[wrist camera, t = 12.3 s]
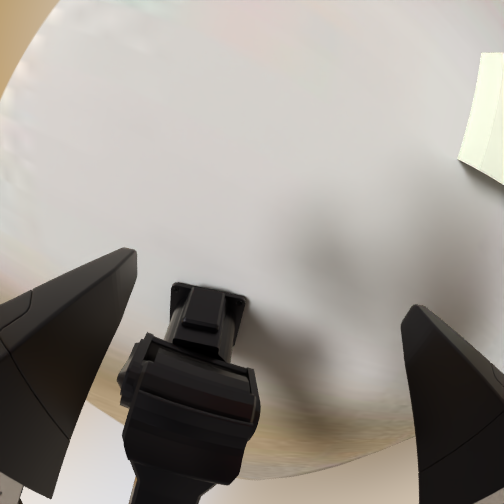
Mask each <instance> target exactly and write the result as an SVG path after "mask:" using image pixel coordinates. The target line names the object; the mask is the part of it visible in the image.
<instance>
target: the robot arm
mask: <svg viewBox="0 0 504 504" xmlns="http://www.w3.org/2000/svg"><path fill="white" fill-rule="evenodd" d="M136 278H137V252H136V251H135V250H134V249H129V248H125V247H124V248H121V249H118V250H116V251H114V252H111V253H109V254H107V255H105V256H102V257H100V258H98V259H96V260H93V261H91V262H89V263H87V264H85V265H82V266H80V267H78V268H76V269H74V270H71V271H69V272H67V273H65V274H63V275H61V276H59V277H57V278H54V279H52V280H50V281H48V282H46V283H44V284H42V285H40V286H38V287H36V288H34V289H33V291H32V290H30V291H28V292H26V293H24V294H22V295H20V296H18V297H16V298H13V299H11V300H9V301H7V302H5V303H3V304H1V305H0V504H23V503H22V501H21V499H20V496H21V493H22V490H23V487H24V486H25V487H27V488H29V489H31V490H33V491H35V492H37V493H39V494H41V495H43V496H45V497H47V498H49V499H52V496H53V493H54V489H55V486H56V482H57V479H58V476H59V473H60V469H61V466H62V463H63V460H64V457H65V454H66V451H67V448H68V445H69V443H70V439H71V436H72V434H73V431H74V428H75V426H76V423H77V420H78V418H79V415H80V413H81V410H82V407H83V405H84V402H85V400H86V398H87V395H88V393H89V390H90V388H91V386H92V383H93V381H94V379H95V376H96V374H97V372H98V369H99V367H100V365H101V363H102V360H103V358H104V356H105V354H106V352H107V349H108V347H109V345H110V343H111V341H112V339H113V337H114V335H115V333H116V330H117V328H118V326H119V324H120V322H121V319H122V317H123V314H124V311H125V308H126V306H127V303H128V300H129V298H130V295H131V292H132V289H133V287H134V284H135V282H136ZM176 288H178V289H176ZM238 301H242V302H238ZM244 307H245V298H244V297H243V296H240V295H235V294H230V293H225V292H220V291H215V290H210V289H205V288H200V287H196V286H191V285H186V284H182V283H174V284H173V285H172V287H171V301H170V324H169V326H168V329H167V332H166V335H165V338H164V340H162V339H160V338H157V337H155V336H154V335H153V334H150V333H148V332H147V334H146V336H145V338H144V339H141V341H140V342H139V343H135V345H134V347H133V350H132V352H131V354H130V357H129V359H128V360H127V362H126V363H125V365H124V366H123V368H122V369H121V371H120V372H119V374H118V377H117V382H118V384H119V386H120V388H121V392H120V395H121V396H122V397H121V401H120V405H121V406H124V407H126V408H128V409H129V412H128V415H127V419H126V422H125V426H124V429H123V433H122V438H123V441H124V448H125V452H126V455H127V458H128V460H130V462H131V465H132V467H133V470H134V472H135V475H136V477H135V481H134V485H133V489H132V492H131V496H130V500H129V504H198V503H199V500H200V498H201V496H202V495H203V494H205V493H206V492H207V491H209V489H211V488H213V487H214V486H215V485H216V484H221V485H230V484H231V483H232V481H233V480H234V479H235V478H236V477H237V476H238V475H239V472H240V468H241V463H242V458H243V454H244V450H245V447H246V444H247V441H249V440H250V439H251V437H252V436H253V434H254V432H255V430H256V428H257V425H258V421H259V417H260V407H261V406H260V399H259V394H258V389H257V383H256V378H255V373H254V369H251V368H248V367H247V368H244V367H240V366H237V365H234V364H231V363H230V362H231V354H232V347H233V346H234V345H235V341H236V337H237V333H238V330H239V326H240V322H241V318H242V314H243V311H244ZM401 334H402V342H403V351H404V361H405V368H406V374H407V379H408V385H409V391H410V397H411V404H412V411H413V418H414V426H415V435H416V445H417V456H418V471H419V473H418V476H419V504H504V374H503V373H502V372H501V371H500V370H498V369H497V368H496V367H495V366H494V365H493V364H492V363H490V361H489V360H487V359H486V358H485V357H484V356H483V355H482V354H481V353H480V352H479V351H477V350H476V349H475V348H474V347H473V346H472V345H471V344H469V343H468V342H467V341H466V340H465V339H464V338H462V337H461V336H460V335H459V334H458V333H457V332H455V331H454V330H453V329H452V328H451V327H450V326H448V325H447V324H446V323H445V322H444V321H442V320H441V319H440V318H439V317H437V316H436V315H435V314H434V313H433V312H431V311H430V310H429V309H428V308H426V307H425V306H423V305H417V304H415V305H413V306H412V307H411V308H410V310H409V311H408V313H407V315H406V316H405V318H404V319H403V321H402V323H401Z"/></svg>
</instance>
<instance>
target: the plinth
mask: <svg viewBox="0 0 504 504" xmlns="http://www.w3.org/2000/svg"><path fill="white" fill-rule="evenodd" d="M458 160H460V161H462V162H464V163H466V164H468V165H470V166H472V167H473V168H475V169H477V170H479V171H480V172H482V173H484V174H486V175H487V176H489V177H491V178H492V179H494V180H496V181H497V182H499V183H501V184H502V185H504V53H481V59H480V66H479V72H478V78H477V84H476V89H475V94H474V99H473V103H472V108H471V112H470V116H469V120H468V124H467V128H466V132H465V135H464V139H463V142H462V146H461V149H460V152H459V156H458Z"/></svg>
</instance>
